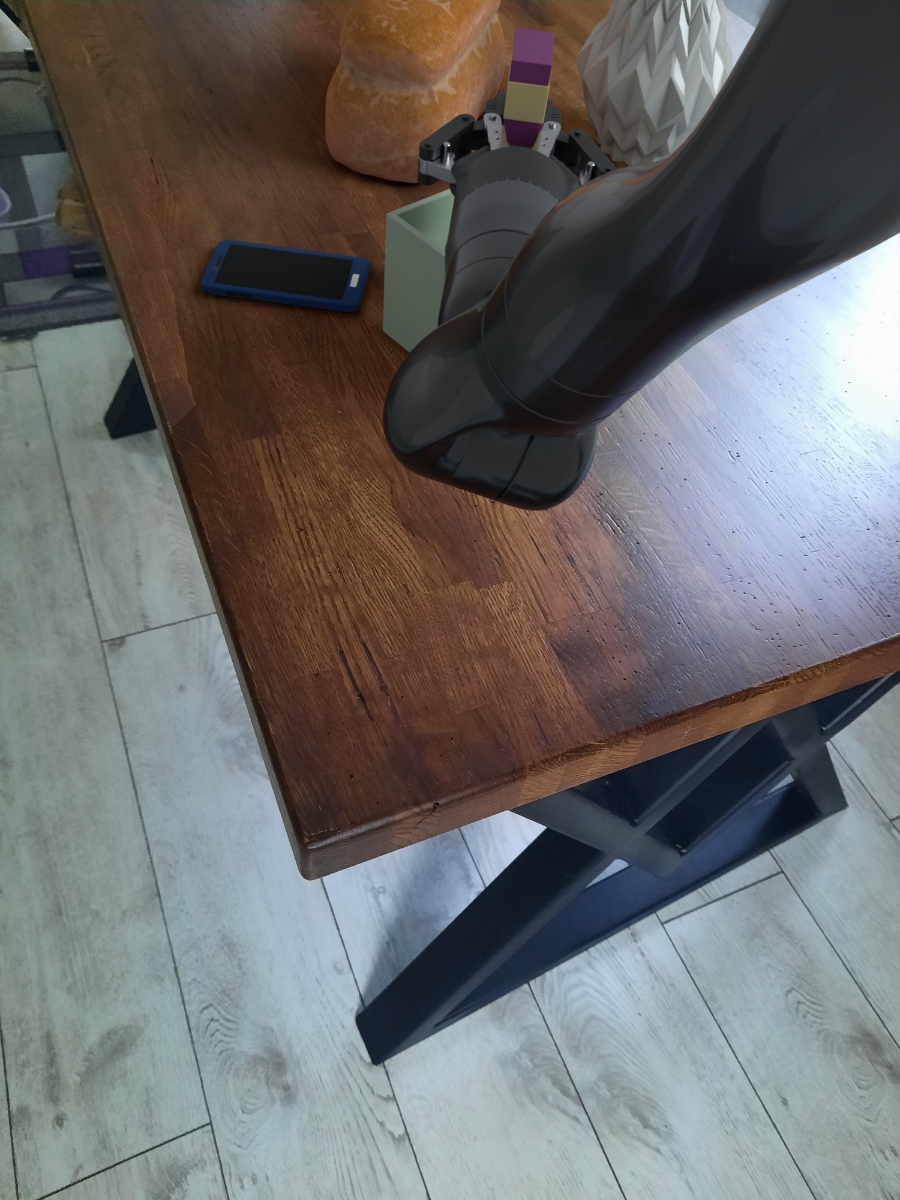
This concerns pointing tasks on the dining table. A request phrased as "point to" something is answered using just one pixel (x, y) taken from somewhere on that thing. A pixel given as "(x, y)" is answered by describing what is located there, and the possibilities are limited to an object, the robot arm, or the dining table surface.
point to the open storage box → (415, 268)
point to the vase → (653, 74)
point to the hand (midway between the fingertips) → (522, 109)
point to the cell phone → (286, 275)
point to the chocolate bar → (528, 86)
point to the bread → (409, 78)
